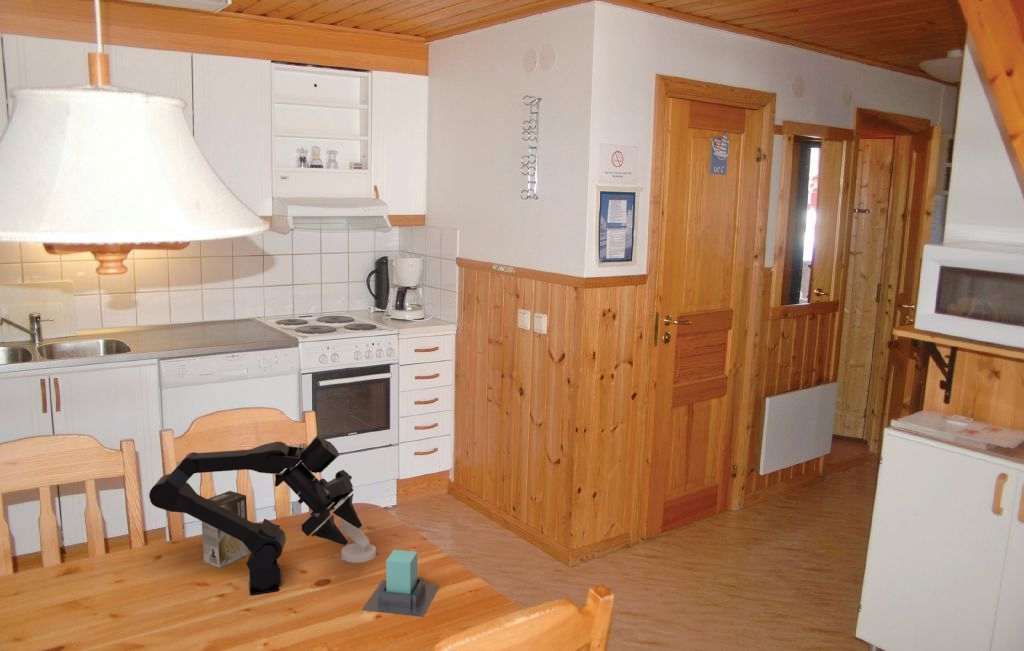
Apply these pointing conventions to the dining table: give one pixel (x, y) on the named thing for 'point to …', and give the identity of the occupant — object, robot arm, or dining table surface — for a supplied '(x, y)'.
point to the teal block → (401, 572)
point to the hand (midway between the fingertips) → (353, 535)
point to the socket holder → (402, 600)
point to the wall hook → (357, 545)
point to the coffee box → (218, 543)
